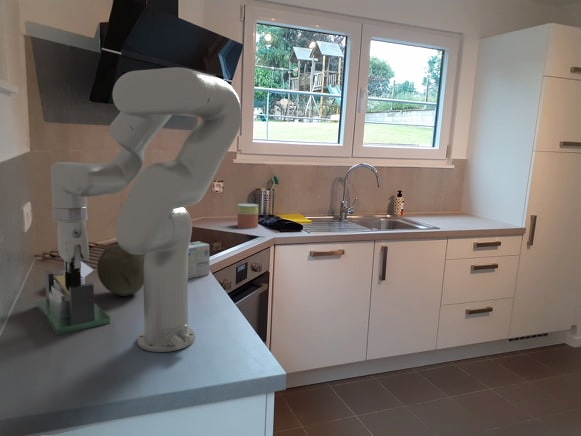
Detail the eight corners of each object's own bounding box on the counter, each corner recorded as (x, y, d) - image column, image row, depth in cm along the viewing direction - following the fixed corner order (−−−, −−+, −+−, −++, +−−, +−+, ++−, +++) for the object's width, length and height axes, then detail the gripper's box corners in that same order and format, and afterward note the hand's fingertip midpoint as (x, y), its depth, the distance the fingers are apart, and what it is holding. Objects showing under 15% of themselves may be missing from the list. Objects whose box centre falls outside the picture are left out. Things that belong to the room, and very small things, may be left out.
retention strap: (89, 296, 108) (89, 289, 108) (71, 299, 105) (71, 293, 105) (68, 276, 122) (68, 271, 122) (52, 279, 120) (52, 273, 119)
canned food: (262, 227, 244) (262, 205, 242) (247, 229, 236) (247, 207, 234) (248, 224, 252) (248, 203, 250) (232, 226, 243) (233, 204, 241)
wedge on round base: (65, 279, 143) (46, 293, 130) (64, 259, 141) (45, 270, 129) (94, 280, 143) (78, 293, 131) (93, 259, 142) (77, 271, 129)
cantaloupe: (157, 289, 136) (156, 241, 134) (132, 305, 123) (131, 252, 120) (115, 284, 139) (113, 237, 137) (86, 300, 125) (84, 248, 123)
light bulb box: (199, 270, 158) (199, 240, 156) (210, 274, 153) (210, 244, 152) (172, 275, 151) (172, 244, 149) (182, 280, 146) (182, 248, 144)
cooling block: (110, 323, 110) (108, 282, 109) (56, 335, 103) (54, 291, 101) (83, 298, 127) (82, 262, 125) (36, 306, 119) (34, 268, 117)
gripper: (96, 217, 104) (98, 293, 107) (78, 208, 115) (80, 277, 118) (61, 220, 99) (64, 298, 102) (45, 210, 111) (49, 281, 114)
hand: (73, 286), depth 110 cm, fingers closed
